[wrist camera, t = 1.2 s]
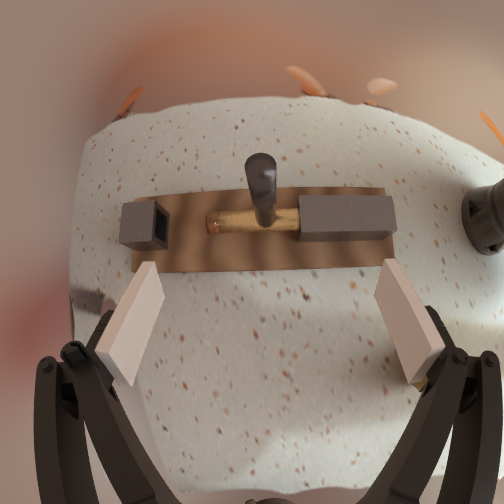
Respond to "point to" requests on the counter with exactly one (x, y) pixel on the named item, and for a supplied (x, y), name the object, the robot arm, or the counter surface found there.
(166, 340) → the counter surface
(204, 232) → the base board
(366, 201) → the outer sleeve
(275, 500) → the beer stein
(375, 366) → the counter surface
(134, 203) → the socket
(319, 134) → the counter surface
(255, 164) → the sliding bolt
